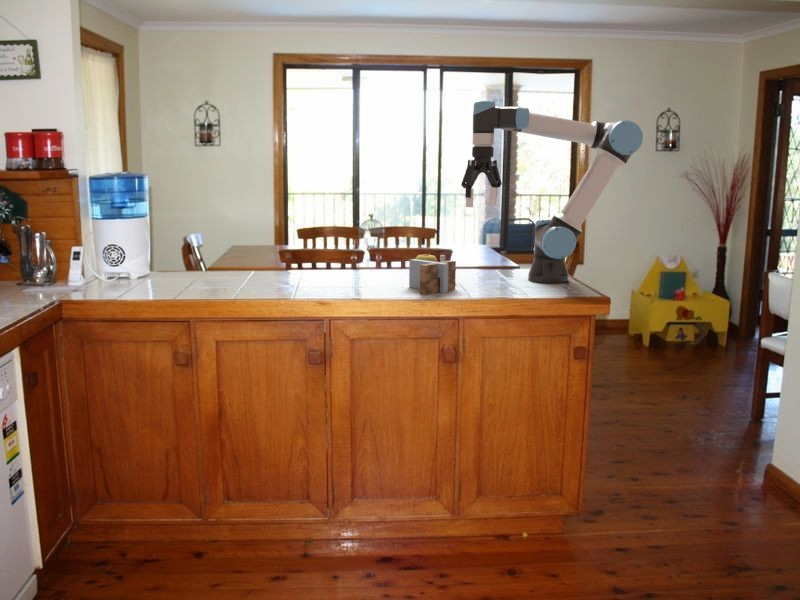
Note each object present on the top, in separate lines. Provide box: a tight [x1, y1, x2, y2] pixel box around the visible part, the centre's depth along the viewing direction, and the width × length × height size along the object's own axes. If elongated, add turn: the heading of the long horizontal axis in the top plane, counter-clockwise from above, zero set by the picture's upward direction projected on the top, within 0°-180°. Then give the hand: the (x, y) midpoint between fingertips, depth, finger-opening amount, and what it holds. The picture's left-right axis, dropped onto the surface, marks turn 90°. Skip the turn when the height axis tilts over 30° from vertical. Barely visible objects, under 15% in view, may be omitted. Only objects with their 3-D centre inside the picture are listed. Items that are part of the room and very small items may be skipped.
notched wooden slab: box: [419, 259, 457, 296], centre depth 263 cm, size 16×2×10 cm, turn 136°
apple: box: [414, 253, 439, 262], centre depth 303 cm, size 10×10×8 cm
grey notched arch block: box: [408, 258, 449, 294], centre depth 266 cm, size 16×2×10 cm, turn 47°
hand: (481, 206), depth 272 cm, fingers open, 13 cm apart
